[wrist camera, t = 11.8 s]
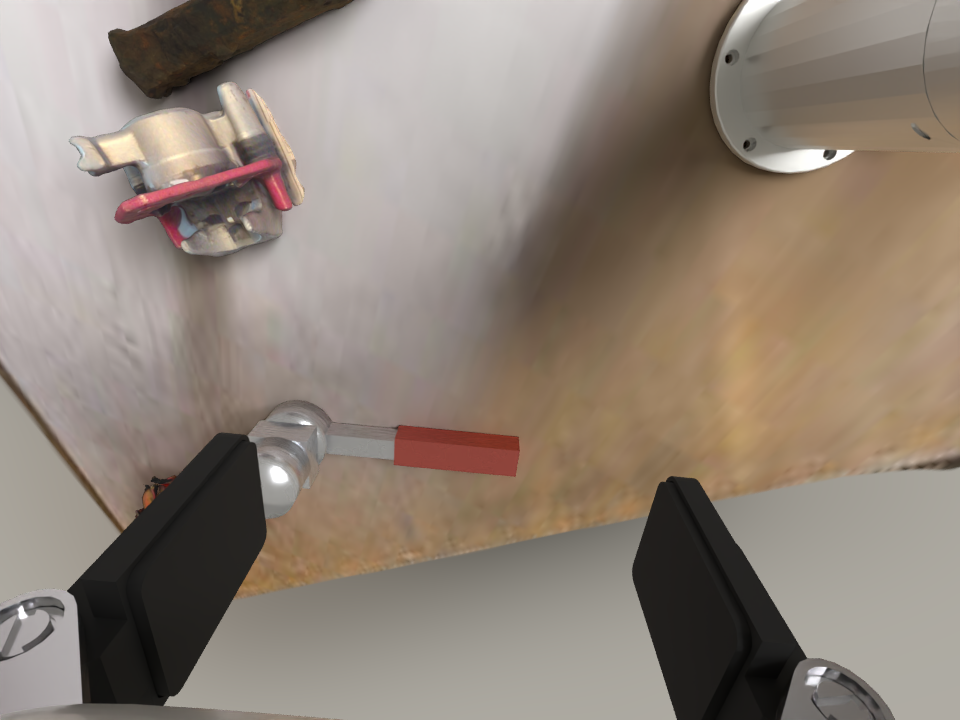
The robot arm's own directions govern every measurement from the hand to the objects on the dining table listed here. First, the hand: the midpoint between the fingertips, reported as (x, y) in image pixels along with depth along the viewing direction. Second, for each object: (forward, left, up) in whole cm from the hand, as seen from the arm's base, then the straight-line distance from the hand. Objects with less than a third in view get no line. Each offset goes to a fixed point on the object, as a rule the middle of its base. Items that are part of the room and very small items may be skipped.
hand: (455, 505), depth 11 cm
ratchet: (+7, +18, -28) cm, 34 cm away
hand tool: (+15, -14, -29) cm, 35 cm away
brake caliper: (+19, -3, -29) cm, 35 cm away
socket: (+15, +18, -26) cm, 35 cm away
